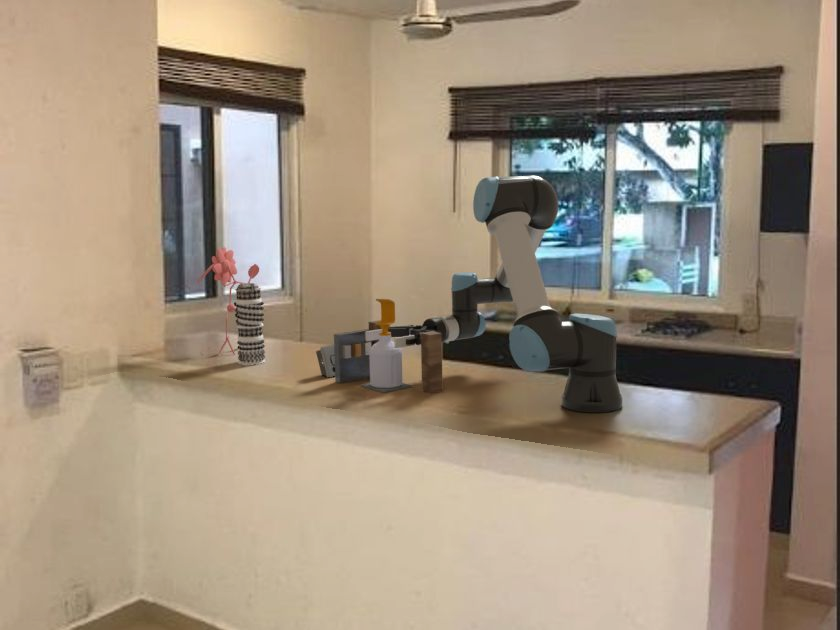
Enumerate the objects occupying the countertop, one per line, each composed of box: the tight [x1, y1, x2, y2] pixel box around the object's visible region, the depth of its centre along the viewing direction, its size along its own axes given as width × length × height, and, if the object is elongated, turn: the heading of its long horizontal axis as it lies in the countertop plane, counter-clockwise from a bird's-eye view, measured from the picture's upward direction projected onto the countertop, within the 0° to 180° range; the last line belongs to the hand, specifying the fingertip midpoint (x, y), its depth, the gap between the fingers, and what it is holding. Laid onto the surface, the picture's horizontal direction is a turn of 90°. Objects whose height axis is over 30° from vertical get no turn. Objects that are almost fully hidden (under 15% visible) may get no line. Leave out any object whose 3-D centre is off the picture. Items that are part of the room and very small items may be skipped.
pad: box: [360, 382, 413, 394], centre depth 266 cm, size 11×10×1 cm
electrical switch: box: [315, 343, 335, 378], centre depth 282 cm, size 9×5×9 cm, turn 141°
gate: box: [368, 319, 443, 394], centre depth 268 cm, size 29×4×16 cm, turn 38°
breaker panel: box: [333, 328, 372, 384], centre depth 273 cm, size 4×12×14 cm, turn 128°
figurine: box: [197, 246, 266, 355], centre depth 318 cm, size 15×26×35 cm, turn 150°
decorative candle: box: [233, 282, 266, 366], centre depth 299 cm, size 9×9×25 cm
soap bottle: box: [369, 298, 403, 388], centre depth 264 cm, size 9×9×25 cm
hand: (380, 339), depth 262 cm, fingers open, 13 cm apart
